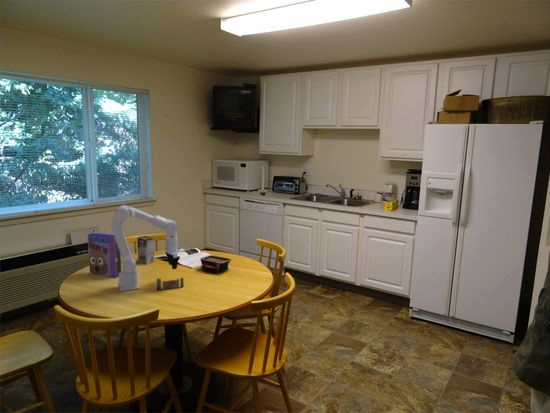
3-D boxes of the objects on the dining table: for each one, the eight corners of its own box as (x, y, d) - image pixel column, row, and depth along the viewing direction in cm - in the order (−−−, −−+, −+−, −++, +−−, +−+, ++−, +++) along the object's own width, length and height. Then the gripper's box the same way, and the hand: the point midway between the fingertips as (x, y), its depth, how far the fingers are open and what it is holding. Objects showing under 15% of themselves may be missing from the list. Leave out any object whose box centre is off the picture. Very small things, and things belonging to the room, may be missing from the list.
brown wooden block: (162, 289, 198) (162, 281, 197) (162, 288, 199) (162, 280, 199) (179, 287, 201) (179, 279, 201) (178, 286, 203) (178, 278, 202)
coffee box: (137, 261, 242) (136, 237, 239) (145, 259, 247) (144, 235, 245) (147, 264, 237) (146, 240, 234) (155, 262, 243) (154, 237, 240)
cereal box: (90, 274, 218) (87, 234, 214) (95, 271, 222) (93, 232, 218) (116, 277, 214) (114, 236, 210) (121, 274, 218) (119, 234, 214)
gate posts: (157, 290, 197) (156, 280, 196) (156, 289, 199) (156, 278, 197) (183, 287, 202) (183, 276, 201) (183, 286, 204) (183, 275, 203)
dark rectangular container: (213, 267, 242) (211, 252, 240) (235, 268, 232) (233, 252, 230) (198, 275, 230) (195, 259, 228) (220, 277, 220) (218, 260, 219)
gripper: (182, 245, 199) (183, 269, 202) (176, 238, 212) (176, 261, 214) (169, 247, 196) (170, 271, 198) (163, 240, 209) (164, 263, 211)
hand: (172, 266), depth 206 cm, fingers open, 7 cm apart
